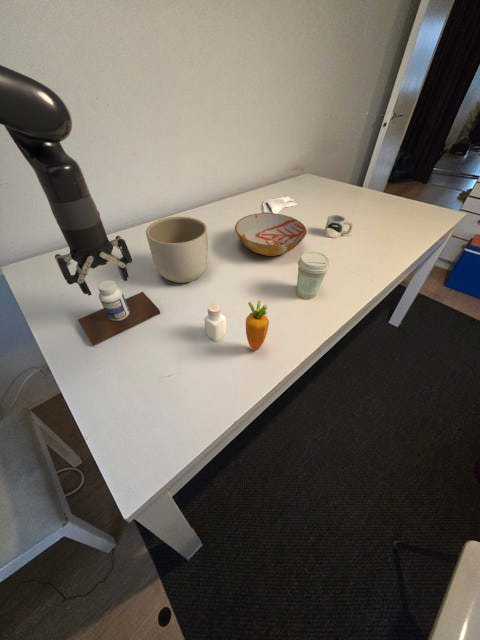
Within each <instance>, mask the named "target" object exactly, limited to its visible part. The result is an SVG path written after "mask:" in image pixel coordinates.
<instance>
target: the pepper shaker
mask: <svg viewBox="0 0 480 640" xmlns="http://www.w3.org/2000/svg"><path fill="white" fill-rule="evenodd" d="M204 329H205V335H206V336H207V337H208V338H210V339H212V340H213V341H214V342H218V341H220V340H221V339H222V338H223V337H224V336H226V335H227V317H226V315H224V314H223V313H222V305H221V303H219V302H211V303H209V304H208V305H207V314H206V315H205V317H204Z"/></svg>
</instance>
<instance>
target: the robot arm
mask: <svg viewBox="0 0 480 640" xmlns="http://www.w3.org/2000/svg"><path fill="white" fill-rule="evenodd" d="M0 125H2V126H4V128H5V130H6V131H7V133H8V135H9V136H10V138H11V140H13V141H12V142H14V144H15V145H16V147H17V148H18V150H19V151H20V153H21V154H22V156H23V158H24V159H25V161H27V163H28V164H29V165H30V167H31V169H32V170H33V171H34V173H35V175H36V177H37V181H38V182H39V185H40V187H41V189H42V190H43V193H44V195H45V197H46V199H47V202H48V204H49V208H50V210H51V214H52V215H53V218H54V219H55V221H56V224H57V226H58V227H59V230H60V232H61V233H62V236H63V238H64V240H65V242H66V244H67V246H68V248H69V253H67V254H63V255H61V254H60V253H57V254H55V255H54V259H55V261H56V264H57V265H58V267H59V270H60V272H61V274H62V276H63V279H64V280H65V281H66V283H67V284H68V285H73V284H78V287H79V288H80V291H81V292H82V294H84V295H87V296H88V297H89V296H92V292H91V290H90V288H89V285H88V283H87V281H86V280H85V279H86V276H87V275H89V272H90V269H92V270H93V269H96V268H98V267H100V266H105V265H107V263H108V262H110V263H111V264H113V265H115V266H116V267H117V269H118V272H119V275H120V278H121V279H122V281H123V282H128V279H129V277H130V275H129V272H128V269H127V265H128V264H131V263H133V258H132V256H131V255H132V254H131V253H130V251H129V248H128V245H127V242H126V240H125V239H124V238H122V236H120V235H116V236H115V239H112V240H109V237H108V235H107V231H106V229H105V226H104V223H103V221H102V219H101V213H100V211H99V210H98V207H97V205H96V203H95V201H94V200H95V199H93V197H92V194H91V193H90V189H89V187H88V184H87V181H86V177H85V175H84V173H83V171H82V168H81V167H80V164H79V163H78V162H77V161H76V159H74V158H73V157H72V156H70V155H69V154H68V153H67V152H66V151H65V149H64V147H63V145H62V144H61V142H63V141H65V140H66V139H67V138H68V137H69V136H70V135H71V132H72V129H73V119H72V115H71V112H70V110H69V108H68V107H67V105H66V103H65V102H64V100H63V99H62V98H61V97H60V96H59V95H58V93H56V92H55V91H54V90H52V89H51V88H50V87H48V86H47V85H45V84H43V83H42V82H40V81H38V80H36V79H34V78H32V77H30V76H27V75H25V74H23V73H21V72H18V71H16V70H13V69H10V68H9V67H6V66H4V65H1V64H0ZM114 247H115V248H116V249H117V250H119V251H120V253H121V256H122V257H121V258H119V257H117V256H115V255H114V254H113V250H114ZM72 260H73V261H74V262H76V266H75V268H76V269H75V272H74V274H72V273H71V272H70V268H69V267H70V265H71V261H72Z"/></svg>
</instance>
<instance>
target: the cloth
mask: <svg viewBox="0 0 480 640" xmlns="http://www.w3.org/2000/svg"><path fill="white" fill-rule="evenodd" d="M294 200H295V199H294V198H291V197H290V196H282V197H277V198H271V199H265V200H263V201H262V202H263V203H262V210H263V213H274V214H280V212H281V211H282V210H283V209H285V208H291V207H295V206H297V205H298V203H296V202H294Z"/></svg>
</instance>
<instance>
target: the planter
mask: <svg viewBox="0 0 480 640" xmlns="http://www.w3.org/2000/svg"><path fill="white" fill-rule="evenodd" d="M145 236H146V239H147V243H148V247H149V251H150V253H151V257H152V260H153V263H154V265H155V268H156V270H157V272H158V273H159V274H160V276H161V277H163V278H164V279H166V280H168V281H170V282H173V283H178V284H184V283H189V282H192V281H195V280H197V279H198V278H200V277H201V276H202V275H203V274H204V273H205V272H206V270H207V267H208V264H209V263H208V262H209V244H208V227H207V224H206V223H204V222H203V221H202V220H200V219H198V218H195V217H190V216H170V217H165V218H161V219H159V220H156V221H154V222H153V223H151V224H149V225H148V226H147V227H146V231H145Z"/></svg>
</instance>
